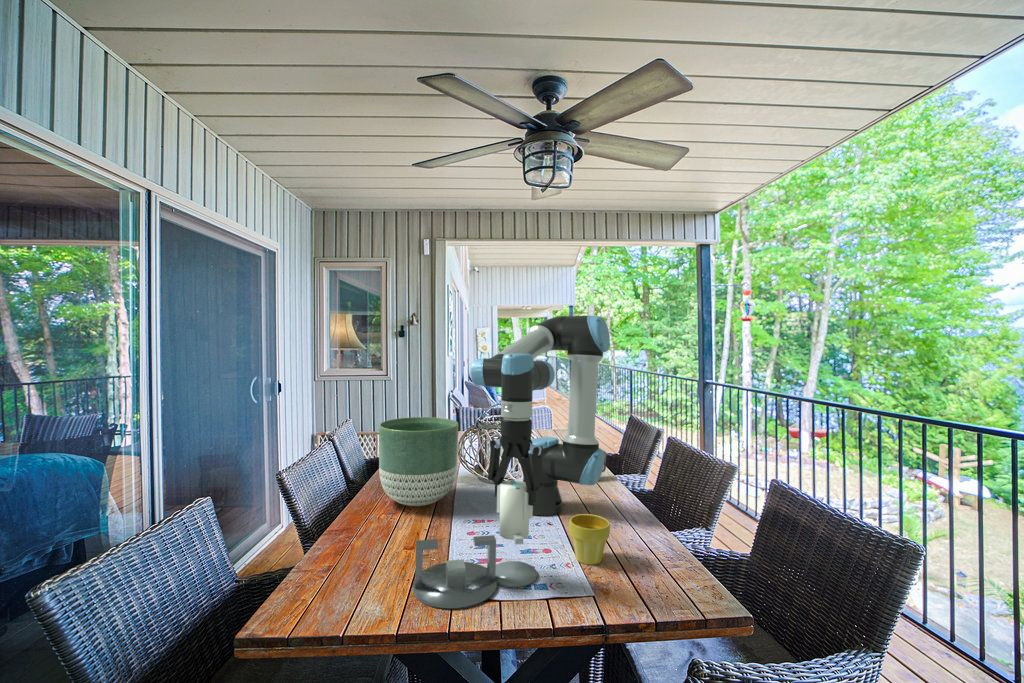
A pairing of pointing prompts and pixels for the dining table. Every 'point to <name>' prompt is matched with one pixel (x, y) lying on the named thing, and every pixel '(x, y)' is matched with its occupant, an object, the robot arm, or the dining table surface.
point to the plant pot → (589, 537)
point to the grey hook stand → (455, 578)
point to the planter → (418, 458)
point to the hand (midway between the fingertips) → (514, 514)
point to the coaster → (515, 574)
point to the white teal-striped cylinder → (513, 511)
